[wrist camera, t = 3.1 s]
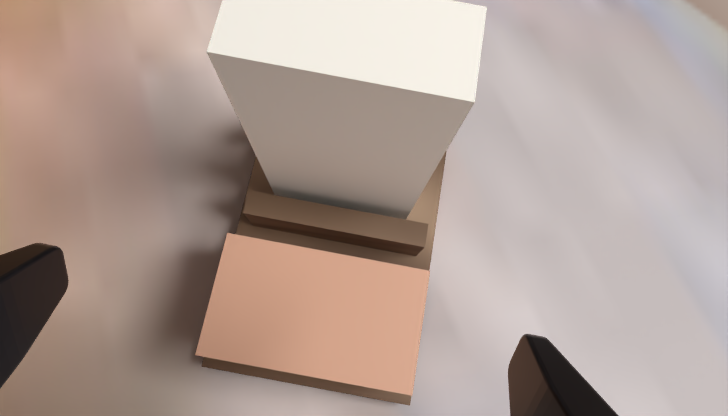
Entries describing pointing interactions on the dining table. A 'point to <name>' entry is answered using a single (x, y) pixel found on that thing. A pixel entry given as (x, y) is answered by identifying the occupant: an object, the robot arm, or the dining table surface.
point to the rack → (337, 250)
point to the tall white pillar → (349, 92)
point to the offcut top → (315, 314)
